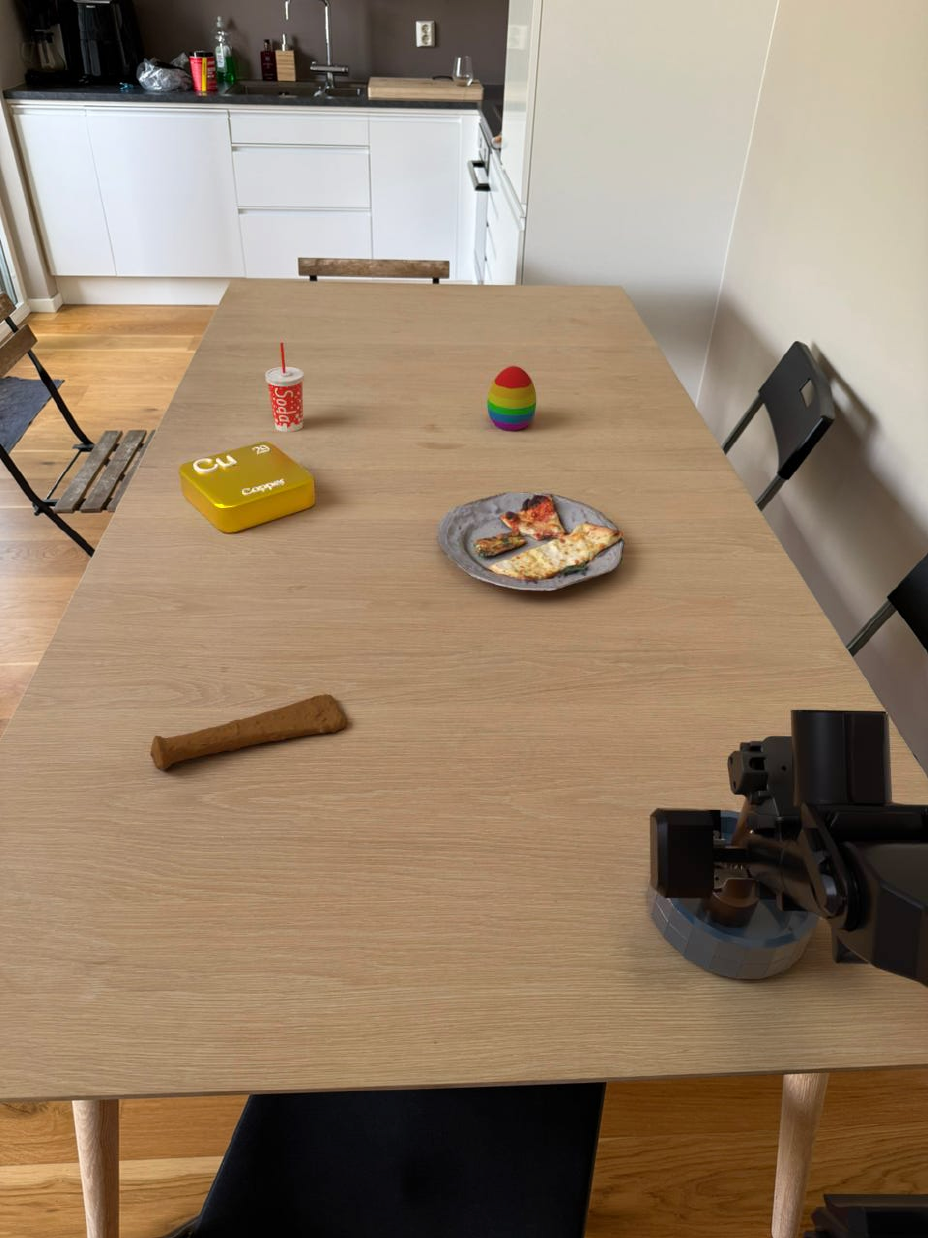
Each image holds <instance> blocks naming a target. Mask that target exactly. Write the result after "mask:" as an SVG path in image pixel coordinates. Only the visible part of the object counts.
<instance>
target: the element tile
mask: <svg viewBox="0 0 928 1238" xmlns="http://www.w3.org/2000/svg"><path fill="white" fill-rule="evenodd" d="M178 474H179V480H180V485H181V492H182V495H183V497H184V498H186V500H187V501H189V503H190V504H191V505H193V506H194V507H195V508H196V509H197V510H198V511H199V512H200V513H201V515H203V516H204V517H205V518H206V519H207V520H208V521H209V523H211V524H212V525H213V527H215V528H216V529H217V530H219V531H220V532H223V533H228V534H231V533H238V532H242V531H245V530H247V529H251V528H254V527H256V526H259V525H262V524H263V525H264V524H265V523H268V522H269V523H270V522H272V521H275V520H278V519H280V518H281V519H282V518H284V517H287V516H290V515H293V514H296V513H298V512H302V511H305V510H308V509H309V508H311V507H313V506H314V505H315V503H316V494H315V493H316V491H315V479H314V476H313V474H312V473H311V472H309V470H307V469H305V468H304V467H303V466H302V465H301V464H299V463H298V462H297V461H295V460H294V459H293V458H291V457H290V456H289V455H288V454H286V453H285V452H284V451H282V449H280V448H279V447H277V446H276V445H275V444H273V443H270V442H268V441H261V442H256V443H255V442H254V443H252V444H249V445H245V446H241V447H238V448H234V449H231V450H226V451H224V452H223V451H222V452H220V453H216V454H212V455H209V456H205V457H202V458H198V459H195V460H191V461H188V462H185V463H182V464H181V465H180V466H179V467H178Z"/></svg>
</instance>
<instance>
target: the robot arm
mask: <svg viewBox="0 0 928 1238" xmlns="http://www.w3.org/2000/svg"><path fill="white" fill-rule="evenodd" d="M726 762H727V764H726V765H727V772H728V778H729V779H728V780H729V788H730V791H731V793H732V794H733V795H734V796H743V797H745V798H746V799H747V803H748V805H754V811H746V828H747V829H748V830H751V831H750V837H749V840H748V843H747V846H726V840H725V839H721V810H722V809H712V808H711V809H709V808H707V809H705V808H704V809H703V808H689V807H687V808H686V807H684V808H683V807H656V809H654V811H652V813H651V814H649V864H650V865H649V868H650V869H649V873H650V886H651V887H652V888H653V889H654V890H655V891H656V892H657V893H658V894H659V895H661V896H662V897H664V898H691V899H711V896H712V894H713V892H722V887H723V886H724V885H725V884H726V882H727V880H728V879H754V894H755V897H756V898H758V899H766V900H776V904H777V909H779V910H781V911H810V912H812V913H814V914H816V915H818V916H820V917H821V918H822V919H824V920H825V921H826V922H827V924H828V925H829V926H830V931H831V932H830V935H831V936H830V937H831V958H832V961H833V962H834V964H836V965H871V966H872V967H874V968H876V969H877V970H881V971H885V972H887V973H890V974H892V975H896V976H899V977H902V978H905V979H908V980H911V981H914V982H917V983H919V984H920V985H922V986H924V988H926V989H928V804H911V803H910V804H909V803H907V804H905V803H900V802H895V801H893V786H892V785H893V783H892V761H891V738H890V714H889V713H887V711H886V710H848V709H847V710H844V709H790V735H770V736H767V737H765V738H764V739H763V740H750V741H741V742H740V743H739V750H733V751H732V752H731V753H730V754H729V756H728V757H727V761H726ZM726 863H747V864H746V865H745V868H744V866H743V865H742V864H740V867H738V865H737V864H735V866H734V867H733V865H732V864H730V865H729V868H728V866H727V864H726ZM722 866H724V867H723V868H722ZM822 1195H823V1196H822V1198H823V1201H824V1204H825V1205H824V1206H816V1207H815V1208H814V1210H813V1211H812V1212H811V1214H810V1218H811V1222H812V1224H813V1227H814V1229H808V1230H805V1231H804V1233H803V1234H802V1236H801V1237H802V1238H928V1193H823V1194H822Z"/></svg>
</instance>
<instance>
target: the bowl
mask: <svg viewBox="0 0 928 1238" xmlns="http://www.w3.org/2000/svg"><path fill="white" fill-rule="evenodd" d="M720 810H721V839H725V840H726V846H729V844H730V841H731V839H732V836H733V833H734V830H735V827H736V824H737V821H738V818H739V815H740V812H741V811H740V812H739V811H736V810H731V809H720ZM645 895H646V901H647V905H648V909H649V913H650V917H651V919H652V921H653V922H654V924H655V926H656V928H657V929H658V931H659V933H660V934H661V936H662V937H663V938H664V940H665V941H666V942H667V943H668V944H669V945H670V946H671V947H673V949H674V950H676V951H677V952H678V954H679V955H680V956H682V957H683V958H684V959H686V960H688V961H689V962H692V963H693V964H695V965H696V966H699V967H700V968H702V969H704V970H705V971H708V972H710V973H714V974H718V975H721V976H725V977H728V978H731V979H736V980H762V979H767V978H768V977H771V976H774V975H777V974H780V973H783V972H785V971H787V970H788V969H789V968H790V967H792V965H794V964H795V963H796V962H797V961H798V960H800V959H801V958H802V956H803V955H804V952H805V950H806V948H807V947H808V946H807V945H808V944H809V942H810V940H811V938H812V935H813V933H814V931H815V929H816V927H817V925H818V922H819V921H820V916H818V915H816V914H814V913H812V912H810V911H781V910H779V909H777V904H776V900H766V899H759V901H758V904H757V906H756V909H755V911H754V914H753V916H752V918H751V920H750V921H749V922H748V923H747V924H746V925H744V926H741V927H736V928H731V927H725V926H722V925H720V924H718V923H716V922H714V921H713V920H712V919H711V918H709V916H708V915H707V914H706V913H705V911H704V909H703V907H702V904H701V899H691V898H664V897H662V896H661V895H659V894H658V893H657V892H656V891H655V890H654V889H653V888H652V887H651V886H650V872H649V874H648V880H647V886H646V893H645Z"/></svg>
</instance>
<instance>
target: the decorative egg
mask: <svg viewBox="0 0 928 1238" xmlns="http://www.w3.org/2000/svg"><path fill="white" fill-rule="evenodd" d="M488 390H489V391H488V395H487V401H486V404H487V412H488V415H489V419H490V420H491V422H492V423H493V424H494V426H496V427H497V428H498V429H501V430H505V431H520V430H522V429H524V428H526V427H527V426H528V425H529V424H530V422H531V421H532V420H533V418H534V415H535V413H536V408H537V393H536V388H535V385H534V382H533V380H532V378H531V376H530V375H529V374H528V372H526V371H525V370H524V369H523V368H521V367H520V366H517V365H511V366H507V367H505V368H504V369H503V370H501V371H500V372H499V373H498V374H497V375H496V377H495V378H494V379H493V381H492V383H491V385H490V388H489V389H488Z"/></svg>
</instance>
